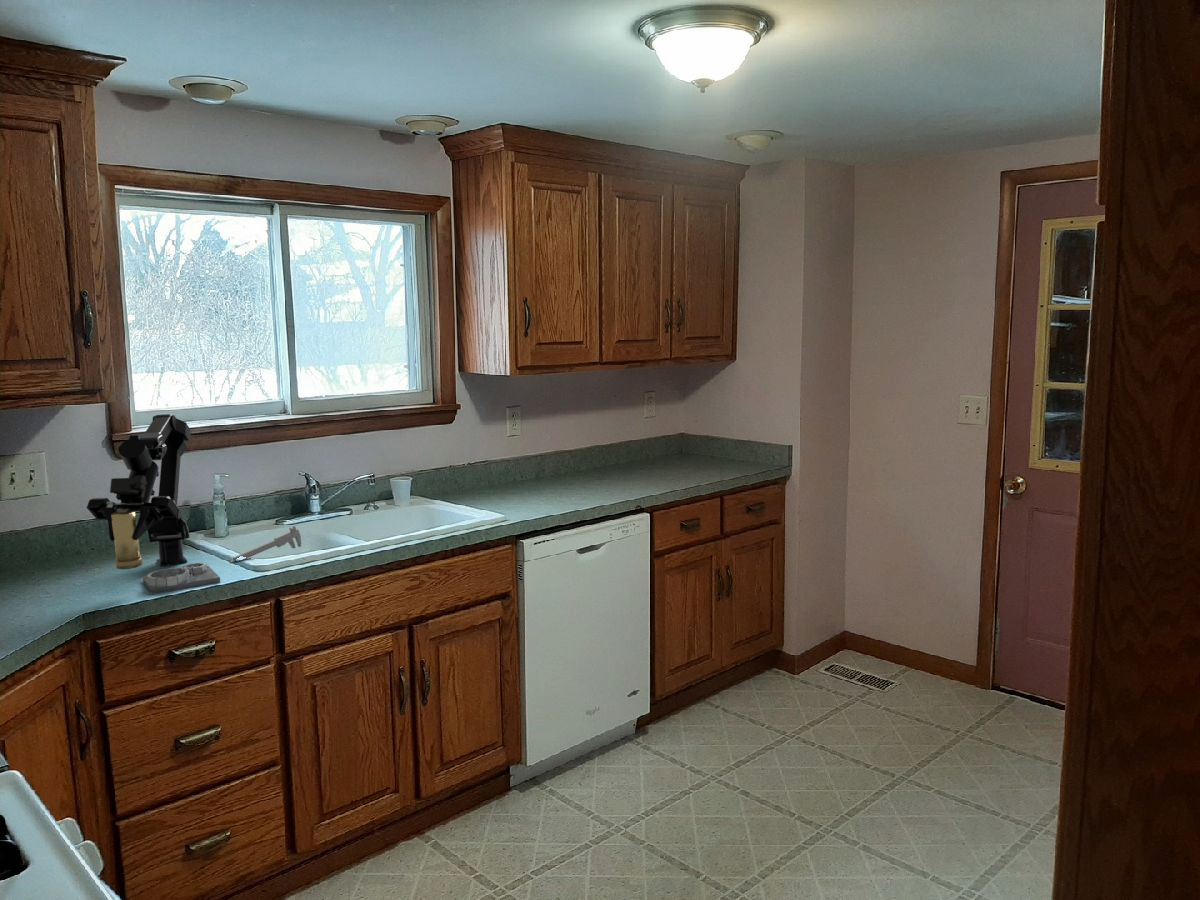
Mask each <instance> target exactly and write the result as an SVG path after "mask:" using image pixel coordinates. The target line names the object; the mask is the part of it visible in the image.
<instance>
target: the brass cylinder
mask: <svg viewBox="0 0 1200 900" xmlns="http://www.w3.org/2000/svg"><path fill="white" fill-rule="evenodd" d="M136 513H137V512H135V511H132V510H129V508H119V509H117V512H115V513H112V514H111V520H112V528H113V536H114V541H113V543H114V550H115V557H116V558H115V559H116V560H115V567H116V569H117V570H129V569H136V568H138V567H141V566H142V565H143V563H144V562H143V557H142V556H141V549H140V547H141V546H140V540H139V539H140V538H139V539H138V540H135V539H134V533H135V529H136V526H137V523H138V521H137V514H136Z"/></svg>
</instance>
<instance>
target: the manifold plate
mask: <svg viewBox="0 0 1200 900" xmlns="http://www.w3.org/2000/svg"><path fill="white" fill-rule="evenodd" d="M142 582H143V584H144V583H145V584H144V585H145V587H146V586H147V587H146V588H147V590H148V591H149V593H150V594H151V593H152V594H151V595H155V594H154V593H156V594H161V593H166V592H171V591H177V590H183V589H188V588H189V589H190V588H193V587H201V586H205V585H206V586H207V585H210V584H216V583H221V576H219V575H218V574H217V573H216V572H215V570H213V569H212V568H211V567H210V566H209V565H207V563H206V562H192V563H188V564H185V565H183V566H182V567H168V568H164V569H159V570H154V571H152V572H149V573H148V574H147V575H145V576H142Z"/></svg>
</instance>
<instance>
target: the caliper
mask: <svg viewBox="0 0 1200 900" xmlns="http://www.w3.org/2000/svg"><path fill="white" fill-rule="evenodd" d="M294 540H295V541H294ZM295 542H296V543H295ZM287 543H288V544H289V545H290V548H291V549H296V544H297V547H298V548H301V547H302V536H301V533H300V530H299V529H297V528H296V526H294V525H293V526H292V527H289V531H287V532H285V533H283V534H281V535H278V536H276V537H274V539H273V540H271V541H268V542H266V543H263V544H262V545H258V546H257V547H255V548H252V549H249V550H247V551H245V552H242V553H240V554H238V555H236V556H233V558H232V559H231V560H229V563H230V564H234V563H236V562H235V561H236V559H237V558H239V557H240V556H243V557H246V558H247V559H249V558H251V557H253V556H256V555H258V554H260V553H262V552H264V551H268V550H270V549H272V548H273V547H274V548H275V547H277V548H281V547H282V546H285V545H286V544H287Z"/></svg>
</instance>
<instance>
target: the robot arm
mask: <svg viewBox="0 0 1200 900" xmlns="http://www.w3.org/2000/svg"><path fill="white" fill-rule="evenodd" d="M191 438H192V433H191V428H190V427H189V425H188V424H187V422H185V421H183V420H181V419H179V418H177V417H176V415H175V414H172V413H171V414H170V413H169V414H168V413H167V414H156V415H154V416H152V422H151V423H150V425H149V426H148V428H147V429H146V430H145V432H144V433H142V434H135V435H129V437H128V439H127V440H125V441H123V442H121V444H120V446H118V454H119V455H120V457H121V459H122V462H123V463H124V465H125V467H126V469H127V470H129V471H130V472H129V475H128V477H119V478H118V477H117V478H113V477H112V478H111V480H110V488H109V493H110V494H114V495H115V498H116V499H117V500H118V501H120V502H118V503H116V502H114V501H110V499H109V498H108V497H93V498H90V499H89V500H88V502H87V505H86V507H85V508H86V509H87V510H88V511H89V513H90V514H92V516H93V517H94V518H95V519H96V520H99V521H107V525H108V526H107V527H108V533H109V539H110V541H112V542H114V536H113V528H112V520H111V514H112V513H115V512H117V509H119V508H129V510H132V511H135V513H138V512H139V518H138V521H137V526H136V529H135V533H134V539H135V540H138V539H140V538H141V537H142V536H143V535H144V534H145V533H146V532H147V534H148V535H147V536H148V539H149V543H153V542H154V543H155V542H157V549H158V559H156V563H157V564H158V565H159V566H160V567H164V566H165V567H166V566H172V565H177V564H182V563H183V564H185V563H187V562H188V559H187V558H186V557H185V556H184V549H183V541H185V540H187V539H189V538H191V537H190V531H189V526H188V524H187V521H186V520H185V517H184V515H183V513H182V511H181V509H180V508H179V506H178V497H179V485H180V483H179V482H180V469H181V457H182V456H183V455H184V454H185V452H186V451H187V450H188V449H189V442H190V441H191ZM155 461H160V473H159V466H158V464H157V463H156V462H155ZM157 477H159V485H158V487H159V488H158V495H157V496H155V490H154V487H155V486H154V485H155V482H156V478H157ZM151 496H152V497H151Z"/></svg>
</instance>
